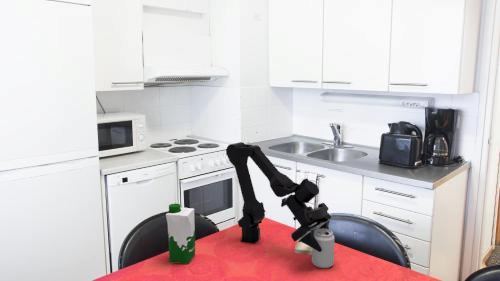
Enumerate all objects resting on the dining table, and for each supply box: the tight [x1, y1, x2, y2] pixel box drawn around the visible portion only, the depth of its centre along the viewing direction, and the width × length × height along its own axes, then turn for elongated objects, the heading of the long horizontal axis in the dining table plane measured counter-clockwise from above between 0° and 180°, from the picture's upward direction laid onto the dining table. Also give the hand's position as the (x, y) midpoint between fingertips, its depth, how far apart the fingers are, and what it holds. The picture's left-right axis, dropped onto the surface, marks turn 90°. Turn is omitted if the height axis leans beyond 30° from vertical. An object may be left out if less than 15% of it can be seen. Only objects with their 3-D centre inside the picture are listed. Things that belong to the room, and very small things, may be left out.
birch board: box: [294, 239, 312, 256], centre depth 151 cm, size 11×11×2 cm
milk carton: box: [165, 203, 196, 265], centre depth 142 cm, size 9×9×20 cm
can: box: [311, 228, 335, 269], centre depth 138 cm, size 8×8×12 cm
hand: (326, 247), depth 137 cm, fingers closed on can, 7 cm apart
